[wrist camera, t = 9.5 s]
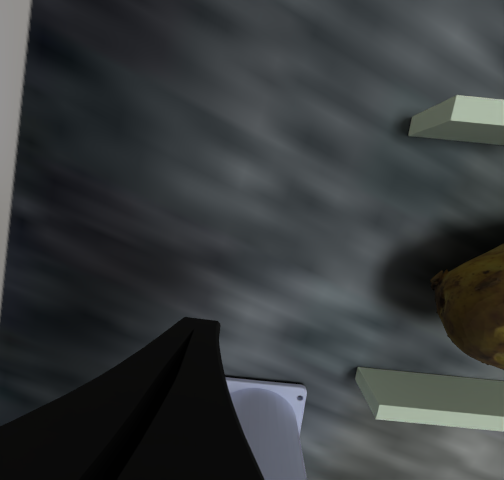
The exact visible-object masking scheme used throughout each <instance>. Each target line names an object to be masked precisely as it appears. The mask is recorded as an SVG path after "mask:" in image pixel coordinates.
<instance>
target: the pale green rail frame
mask: <svg viewBox="0 0 504 480" xmlns="http://www.w3.org/2000/svg"><path fill="white" fill-rule="evenodd" d="M408 136H413V137H423V138H433V139H443V140H453V141H463V142H474V143H484V144H494V145H504V100H500V99H490V98H480V97H470V96H460V95H456V96H454V97H452V98H450V99H448V100H446V101H444V102H442V103H440V104H438V105H435V106H433V107H431V108H429V109H427V110H425V111H423V112H421V113H419V114H417V115H415V116H413V117H412V120H411V124H410V129H409V134H408ZM355 380H356V382H357V384H358V386H359V388H360V390H361V392H362V394H363V396H364V397H365V399H366V401H367V403H368V405H369V407H370V409H371V411H372V413H373V415H374V416H375V418H376V419H380V420H390V421H400V422H411V423H421V424H431V425H441V426H452V427H462V428H472V429H483V430H493V431H503V432H504V381H497V380H486V379H476V378H466V377H456V376H445V375H435V374H425V373H414V372H404V371H394V370H384V369H373V368H363V367H358V368H357V372H356V377H355Z"/></svg>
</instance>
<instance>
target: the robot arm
mask: <svg viewBox="0 0 504 480" xmlns="http://www.w3.org/2000/svg"><path fill="white" fill-rule="evenodd" d="M219 333H220V323H219V322H218V321H213V320H205V319H197V318H188V317H184V318H183V319H181V320H180V321H179V322H177V323H176V324H175V325H173V326H172V327H171V328H169V329H168V330H167V331H165V332H164V333H163V334H162V335H160V336H159V337H158V338H156V339H155V340H153V341H152V342H151V343H149V344H148V345H147V346H145V347H144V348H142V349H141V350H139V351H138V352H136V353H135V354H133V355H132V356H130V357H129V358H127V359H126V360H124V361H123V362H121V363H120V364H118V365H117V366H115V367H114V368H112V369H110V370H109V371H107V372H105V373H104V374H102V375H100V376H99V377H97V378H95V379H93V380H92V381H90V382H88V383H86V384H84V385H83V386H81V387H79V388H77V389H75V390H74V391H72V392H70V393H68V394H66V395H64V396H62V397H60V398H58V399H56V400H54V401H52V402H50V403H48V404H46V405H44V406H42V407H40V408H38V409H36V410H34V411H32V412H30V413H28V414H25V415H23V416H21V417H19V418H17V419H15V420H13V421H11V422H9V423H7V424H5V425H2V426H0V480H307V476H306V470H305V464H304V459H303V453H302V447H301V442H300V430H301V424H302V418H303V413H304V407H305V401H306V395H307V391H306V388H305V386H304V385H300V384H290V383H279V382H269V381H259V380H248V379H238V378H228V377H225V374H224V370H223V365H222V360H221V354H220V347H219ZM298 396H301V397H298Z"/></svg>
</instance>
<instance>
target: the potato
mask: <svg viewBox="0 0 504 480" xmlns="http://www.w3.org/2000/svg"><path fill="white" fill-rule="evenodd" d="M442 272H443V271H440V272H439V273H438V274H436V275H435V276H434V277H433V278H432V279H431V280H430V282H432V285H431V288H432V289H433V290H435V301H436V306H437V312H436V313H438V315H439V317H440V319H441V321H442V323H443V326H444V328H445V330H446V332H447V334H448V335H447V336H448V337H449V338H450V339H451V341H452V342H453V343H454V344H455V345H456V346H457V347H458V348H459V349H460V350H462V351H463V352H464V353H465V354H467V355H468V356H470V357H472V358H474V359H476V360H478V361H481V362H482V363H485V364H487V365H492V366H495V367H497V368H500V369H503V370H504V243H503V244H501V245H499V246H497V247H496V248H494V249H492V250H490V251H488V252H486V253H484V254H482V255H480V256H478V257H476V258H474V259H471V260H469V261H467V262H465V263H463V264H461V265H460V266H458V267H456V268H455V269H453V270H451V271H449V272H448V270H447V269H446V270H445V272H444V273H442Z"/></svg>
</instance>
